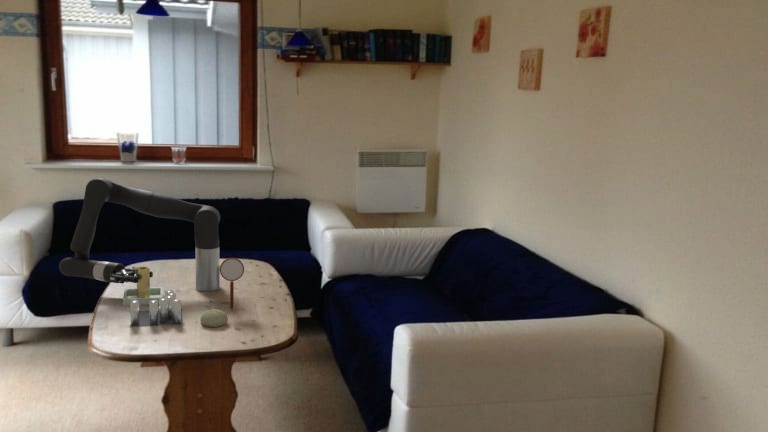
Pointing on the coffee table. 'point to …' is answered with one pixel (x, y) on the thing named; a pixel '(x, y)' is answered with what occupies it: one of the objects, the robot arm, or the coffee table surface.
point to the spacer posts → (167, 310)
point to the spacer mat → (145, 319)
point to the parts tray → (132, 295)
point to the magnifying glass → (231, 274)
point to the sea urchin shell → (213, 318)
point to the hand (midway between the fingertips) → (145, 277)
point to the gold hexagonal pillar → (143, 282)
